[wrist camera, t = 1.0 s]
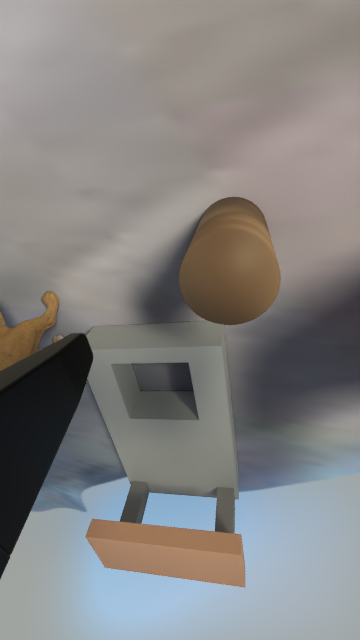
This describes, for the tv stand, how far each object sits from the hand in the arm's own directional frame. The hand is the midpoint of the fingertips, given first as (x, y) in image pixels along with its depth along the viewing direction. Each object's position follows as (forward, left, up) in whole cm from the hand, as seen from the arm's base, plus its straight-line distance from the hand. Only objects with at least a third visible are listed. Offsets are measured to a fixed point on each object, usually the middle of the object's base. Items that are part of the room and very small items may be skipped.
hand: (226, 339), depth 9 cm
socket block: (+6, +15, -11) cm, 19 cm away
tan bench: (+6, +20, -11) cm, 24 cm away
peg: (0, 0, -11) cm, 11 cm away
